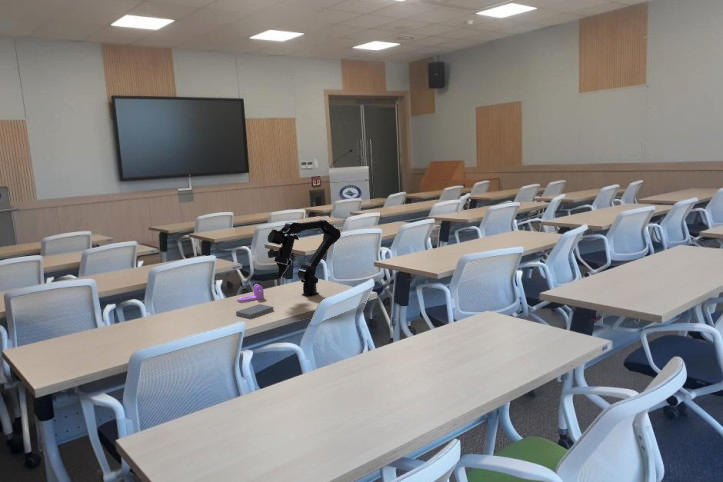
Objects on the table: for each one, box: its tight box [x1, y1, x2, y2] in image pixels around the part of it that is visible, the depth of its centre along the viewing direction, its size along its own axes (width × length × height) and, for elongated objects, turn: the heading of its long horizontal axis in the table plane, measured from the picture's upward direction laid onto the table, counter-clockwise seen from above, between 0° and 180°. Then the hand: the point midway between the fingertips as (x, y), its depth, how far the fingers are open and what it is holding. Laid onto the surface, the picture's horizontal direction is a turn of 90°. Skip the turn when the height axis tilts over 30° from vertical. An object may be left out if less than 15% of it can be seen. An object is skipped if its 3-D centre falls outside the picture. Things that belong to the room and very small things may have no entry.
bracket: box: [236, 283, 265, 303], centre depth 288 cm, size 13×6×7 cm, turn 114°
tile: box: [235, 303, 274, 319], centre depth 264 cm, size 2×10×14 cm
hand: (279, 277), depth 279 cm, fingers closed
